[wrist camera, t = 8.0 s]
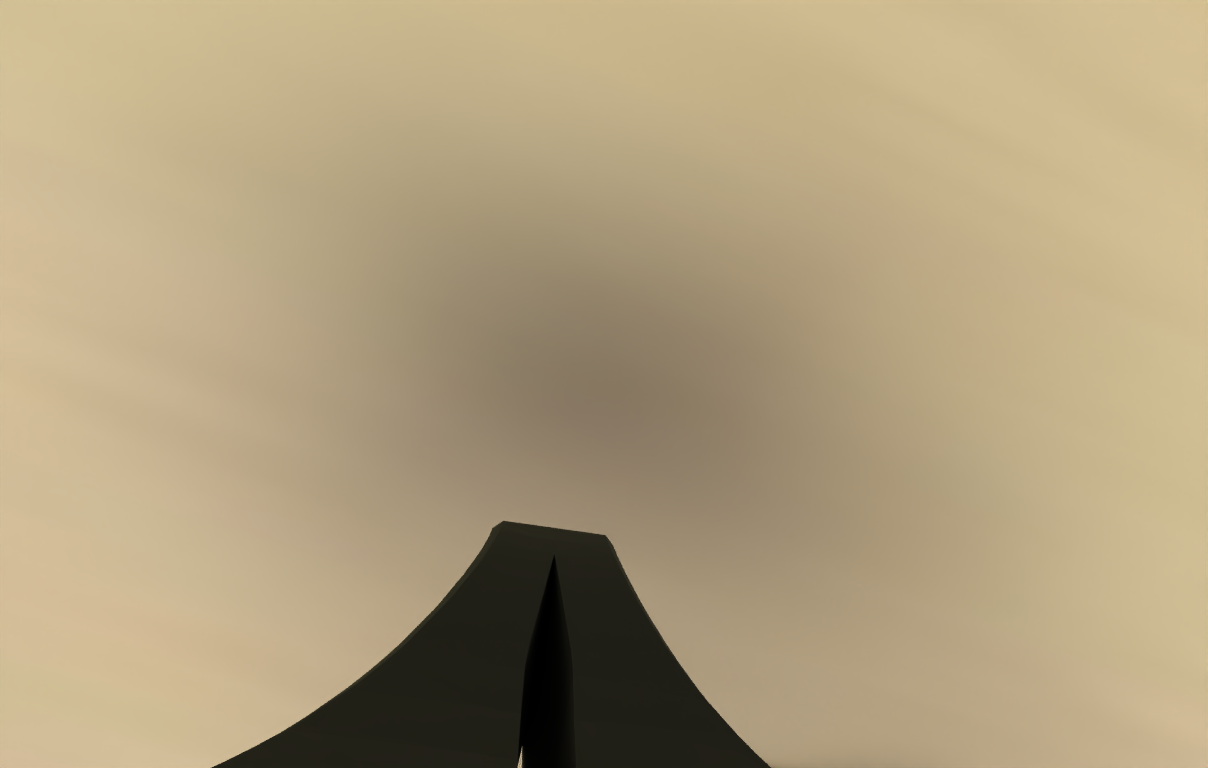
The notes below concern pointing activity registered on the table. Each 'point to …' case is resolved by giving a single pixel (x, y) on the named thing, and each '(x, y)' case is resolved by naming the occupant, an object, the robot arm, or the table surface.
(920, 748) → the table surface
